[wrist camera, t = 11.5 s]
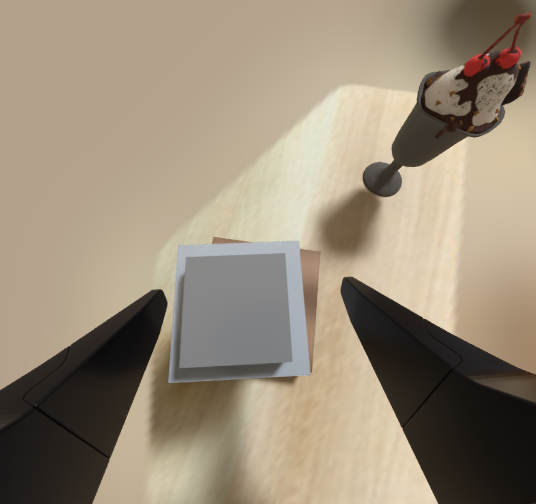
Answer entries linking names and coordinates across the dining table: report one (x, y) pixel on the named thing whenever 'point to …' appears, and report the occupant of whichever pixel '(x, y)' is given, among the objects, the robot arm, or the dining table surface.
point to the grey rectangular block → (238, 312)
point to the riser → (310, 288)
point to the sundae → (453, 110)
